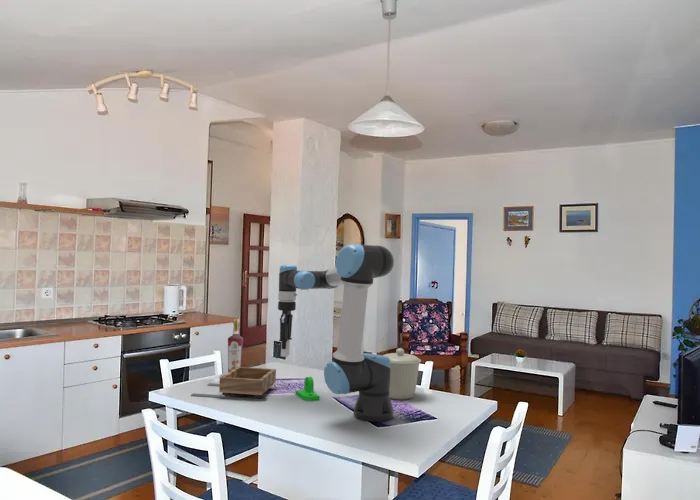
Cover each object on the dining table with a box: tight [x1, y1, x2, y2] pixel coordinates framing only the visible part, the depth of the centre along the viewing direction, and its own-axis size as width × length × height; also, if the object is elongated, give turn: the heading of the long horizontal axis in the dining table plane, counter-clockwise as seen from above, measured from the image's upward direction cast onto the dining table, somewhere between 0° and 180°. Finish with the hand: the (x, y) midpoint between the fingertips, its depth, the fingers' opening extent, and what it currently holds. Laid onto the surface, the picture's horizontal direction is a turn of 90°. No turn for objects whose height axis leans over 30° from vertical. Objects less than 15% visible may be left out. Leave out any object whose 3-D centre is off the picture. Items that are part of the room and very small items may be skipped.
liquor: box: [227, 318, 244, 373], centre depth 252 cm, size 7×7×28 cm
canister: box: [382, 347, 422, 401], centre depth 226 cm, size 18×18×21 cm
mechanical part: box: [294, 376, 320, 402], centre depth 221 cm, size 12×6×8 cm, turn 27°
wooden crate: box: [218, 366, 277, 398], centre depth 225 cm, size 22×18×8 cm
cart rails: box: [190, 382, 279, 402], centre depth 225 cm, size 20×32×1 cm, turn 84°
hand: (284, 355), depth 223 cm, fingers open, 3 cm apart
